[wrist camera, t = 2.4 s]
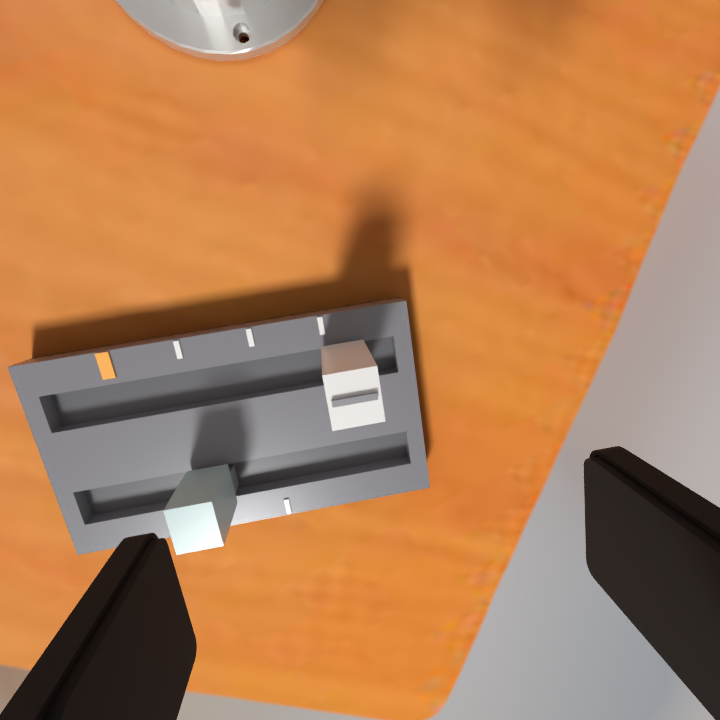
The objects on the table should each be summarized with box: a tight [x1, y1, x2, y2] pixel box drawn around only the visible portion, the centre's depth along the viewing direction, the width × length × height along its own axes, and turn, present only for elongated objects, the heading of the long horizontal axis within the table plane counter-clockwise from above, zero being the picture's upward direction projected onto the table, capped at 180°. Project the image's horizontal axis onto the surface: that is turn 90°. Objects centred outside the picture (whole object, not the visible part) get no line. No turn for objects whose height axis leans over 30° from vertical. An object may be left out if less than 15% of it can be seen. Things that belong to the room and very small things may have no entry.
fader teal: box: [163, 464, 239, 555], centre depth 24 cm, size 2×3×5 cm
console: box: [8, 297, 430, 555], centre depth 26 cm, size 22×12×2 cm, turn 99°
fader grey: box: [321, 339, 386, 431], centre depth 22 cm, size 2×3×7 cm
